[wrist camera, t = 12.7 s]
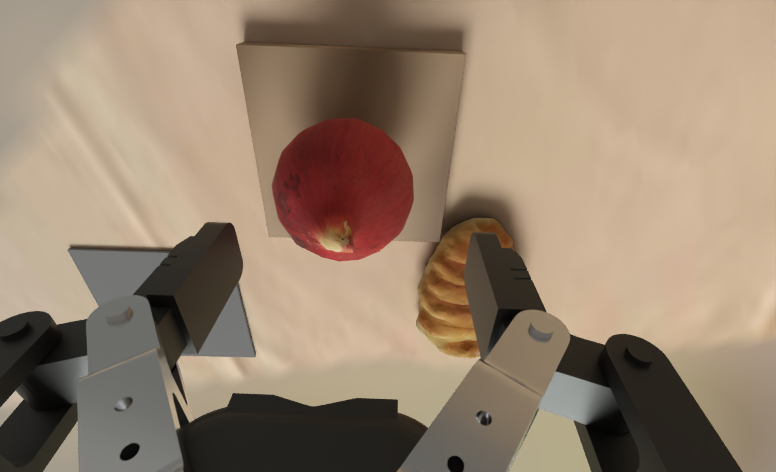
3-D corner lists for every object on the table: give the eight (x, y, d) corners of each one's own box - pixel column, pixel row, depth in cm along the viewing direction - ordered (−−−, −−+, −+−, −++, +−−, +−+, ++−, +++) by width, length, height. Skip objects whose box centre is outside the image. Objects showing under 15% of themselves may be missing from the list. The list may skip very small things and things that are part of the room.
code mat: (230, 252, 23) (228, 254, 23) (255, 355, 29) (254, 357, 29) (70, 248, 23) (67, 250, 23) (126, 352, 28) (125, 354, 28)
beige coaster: (462, 51, 17) (466, 54, 16) (437, 232, 22) (439, 242, 22) (243, 42, 17) (235, 44, 16) (273, 227, 22) (268, 236, 21)
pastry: (417, 212, 22) (423, 249, 19) (531, 209, 22) (556, 246, 19) (414, 321, 27) (419, 365, 24) (505, 319, 27) (522, 363, 24)
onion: (332, 222, 21) (301, 329, 14) (273, 130, 18) (199, 211, 11) (427, 182, 19) (443, 282, 13) (379, 76, 16) (367, 132, 10)
